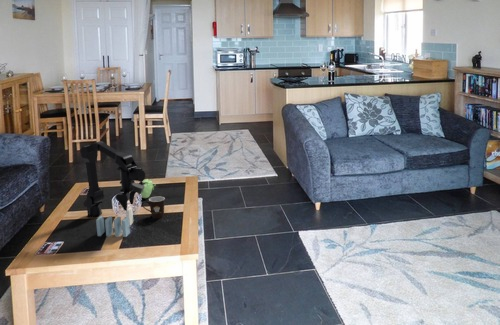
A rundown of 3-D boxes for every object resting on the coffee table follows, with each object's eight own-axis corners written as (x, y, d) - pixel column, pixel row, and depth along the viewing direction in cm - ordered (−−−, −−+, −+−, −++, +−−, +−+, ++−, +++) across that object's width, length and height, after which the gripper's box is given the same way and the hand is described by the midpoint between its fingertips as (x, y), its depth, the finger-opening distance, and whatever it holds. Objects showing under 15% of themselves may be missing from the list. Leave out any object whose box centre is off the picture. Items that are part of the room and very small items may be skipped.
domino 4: (123, 236, 223) (121, 220, 221) (126, 232, 228) (125, 217, 226) (126, 237, 223) (124, 220, 221) (129, 232, 228) (128, 217, 226)
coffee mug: (168, 214, 252) (167, 197, 249) (160, 219, 244) (159, 202, 241) (150, 211, 256) (149, 195, 253) (142, 217, 248) (140, 200, 245)
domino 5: (127, 225, 237) (125, 210, 235) (130, 221, 242) (129, 206, 239) (130, 225, 237) (128, 210, 235) (133, 222, 242) (132, 207, 239)
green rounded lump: (154, 200, 274) (153, 183, 271) (136, 200, 274) (135, 183, 271) (158, 193, 286) (157, 177, 283) (140, 194, 286) (139, 177, 283)
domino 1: (97, 236, 224) (95, 220, 222) (101, 231, 229) (100, 216, 227) (100, 236, 224) (99, 220, 222) (104, 232, 229) (103, 216, 227)
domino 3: (115, 236, 223) (113, 220, 221) (118, 232, 228) (117, 216, 226) (118, 236, 223) (116, 220, 221) (122, 232, 228) (120, 216, 226)
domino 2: (106, 236, 224) (104, 220, 222) (110, 232, 229) (108, 216, 226) (109, 236, 224) (108, 220, 222) (113, 232, 229) (111, 216, 226)
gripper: (135, 184, 223) (137, 214, 227) (147, 173, 241) (149, 201, 245) (113, 184, 224) (116, 213, 228) (127, 173, 242) (129, 201, 246)
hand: (128, 207), depth 237 cm, fingers open, 9 cm apart
